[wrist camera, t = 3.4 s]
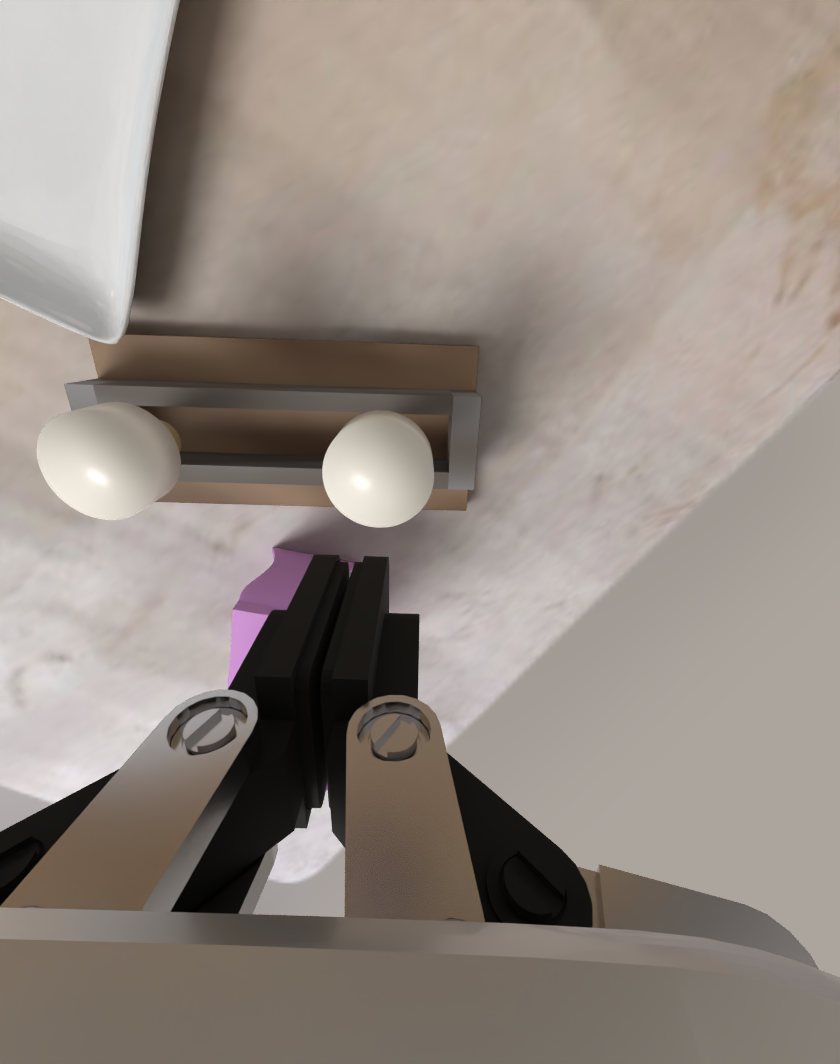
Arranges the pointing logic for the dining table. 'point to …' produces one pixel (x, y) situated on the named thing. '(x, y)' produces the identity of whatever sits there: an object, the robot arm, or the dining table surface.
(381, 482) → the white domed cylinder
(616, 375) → the dining table surface
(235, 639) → the toy chair
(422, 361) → the mount
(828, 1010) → the robot arm
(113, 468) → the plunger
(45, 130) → the salad plate
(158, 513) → the dining table surface
